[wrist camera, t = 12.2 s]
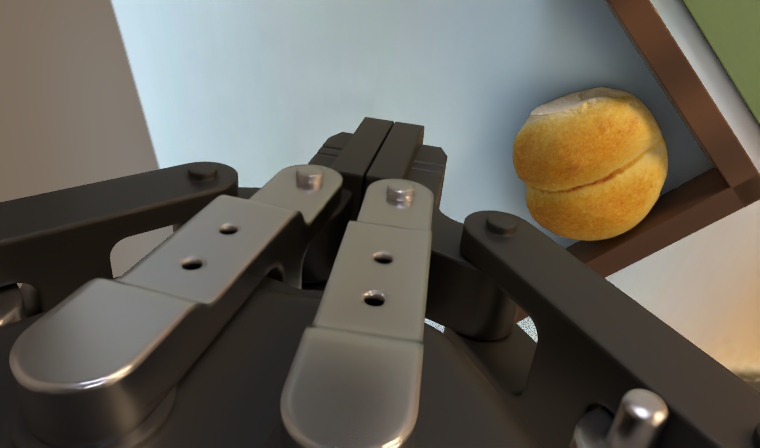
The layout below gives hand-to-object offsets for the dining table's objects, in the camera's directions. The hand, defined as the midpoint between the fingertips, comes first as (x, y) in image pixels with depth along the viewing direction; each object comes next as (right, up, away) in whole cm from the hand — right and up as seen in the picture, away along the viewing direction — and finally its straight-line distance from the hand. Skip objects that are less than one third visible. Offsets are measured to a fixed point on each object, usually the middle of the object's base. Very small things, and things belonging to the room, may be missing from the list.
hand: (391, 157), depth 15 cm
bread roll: (+12, +2, +21) cm, 24 cm away
